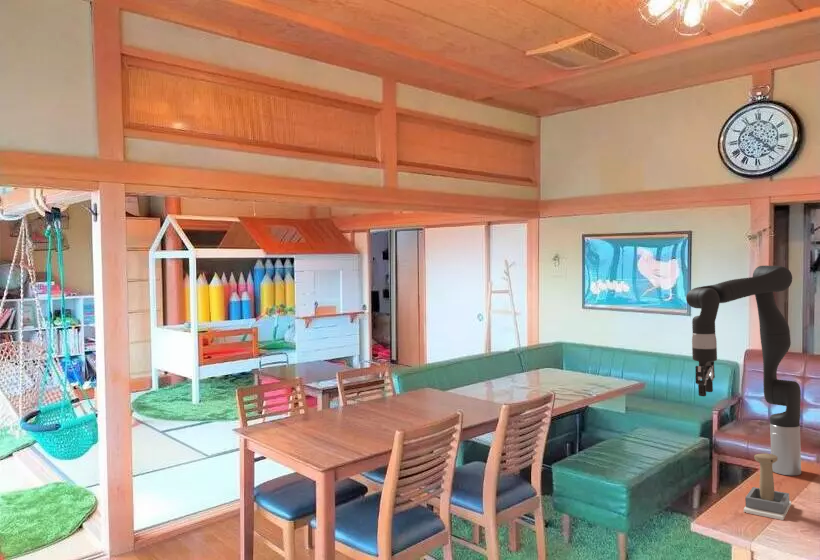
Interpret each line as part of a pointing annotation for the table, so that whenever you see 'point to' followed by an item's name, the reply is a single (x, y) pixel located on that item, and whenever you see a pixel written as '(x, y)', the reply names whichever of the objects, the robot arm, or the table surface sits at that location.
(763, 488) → the handle
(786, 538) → the table surface
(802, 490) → the table surface
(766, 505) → the holder
